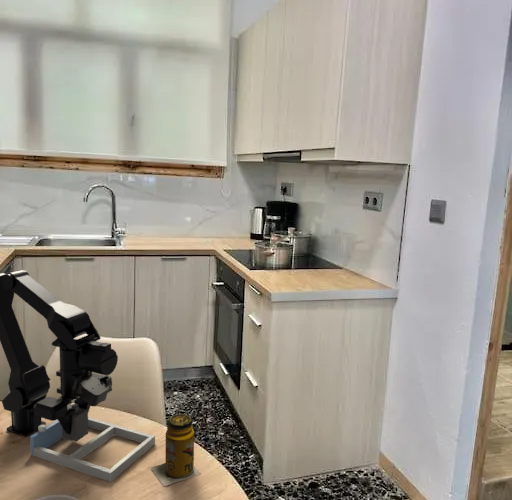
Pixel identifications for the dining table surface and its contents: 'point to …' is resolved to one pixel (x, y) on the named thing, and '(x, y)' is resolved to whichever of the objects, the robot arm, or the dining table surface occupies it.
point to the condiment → (178, 451)
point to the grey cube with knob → (77, 424)
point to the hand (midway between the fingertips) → (75, 429)
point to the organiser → (89, 447)
